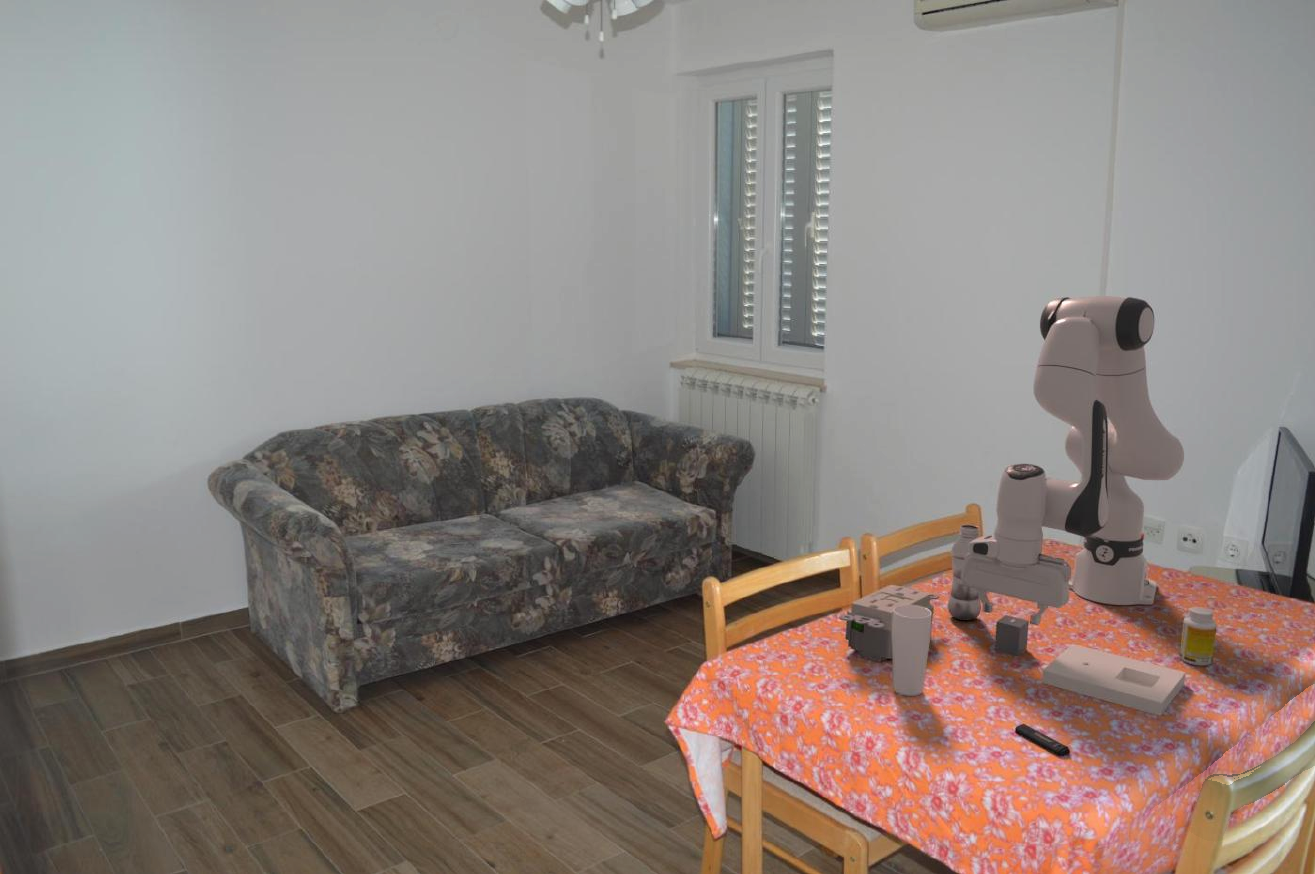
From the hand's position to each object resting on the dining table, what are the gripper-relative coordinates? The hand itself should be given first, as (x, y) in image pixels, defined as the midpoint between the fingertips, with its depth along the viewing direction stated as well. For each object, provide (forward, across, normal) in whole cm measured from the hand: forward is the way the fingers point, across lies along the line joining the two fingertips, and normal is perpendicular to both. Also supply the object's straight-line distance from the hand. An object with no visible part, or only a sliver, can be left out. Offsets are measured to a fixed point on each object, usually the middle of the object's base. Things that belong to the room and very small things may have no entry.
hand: (1010, 617), depth 198 cm
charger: (+7, 0, -1) cm, 7 cm away
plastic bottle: (+7, +14, -11) cm, 19 cm away
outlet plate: (+7, -20, +2) cm, 22 cm away
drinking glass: (+8, +7, +29) cm, 31 cm away
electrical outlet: (+7, +19, +12) cm, 24 cm away
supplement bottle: (+6, -29, -19) cm, 35 cm away
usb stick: (+8, -18, +32) cm, 38 cm away
